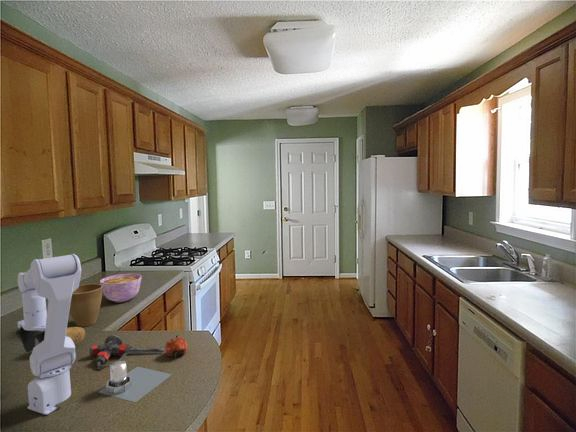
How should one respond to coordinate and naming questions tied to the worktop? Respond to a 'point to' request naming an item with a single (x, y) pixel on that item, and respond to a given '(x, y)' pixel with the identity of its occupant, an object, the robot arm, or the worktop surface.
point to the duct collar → (120, 388)
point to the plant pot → (86, 304)
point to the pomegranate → (176, 347)
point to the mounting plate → (140, 383)
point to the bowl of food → (121, 287)
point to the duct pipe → (118, 373)
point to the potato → (75, 334)
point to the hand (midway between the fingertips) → (38, 352)
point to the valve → (117, 350)
